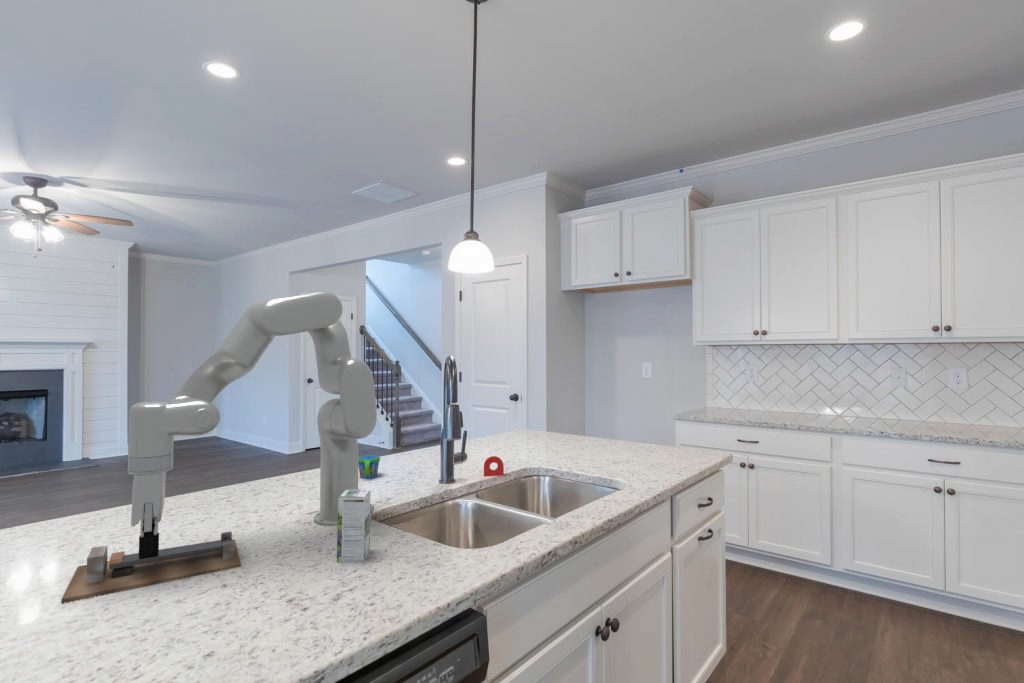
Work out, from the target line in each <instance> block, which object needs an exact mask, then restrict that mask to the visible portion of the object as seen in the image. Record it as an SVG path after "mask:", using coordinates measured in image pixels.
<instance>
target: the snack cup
mask: <svg viewBox="0 0 1024 683" xmlns="http://www.w3.org/2000/svg"><path fill="white" fill-rule="evenodd" d="M380 461H381V457H380V456H379V455H373V454H372V455H362V456H359V459H358V474H359V478H360V479H361V478H362V480H371V479H375V478H377V477H378V471H379V466H380V465H379V464H380Z"/></svg>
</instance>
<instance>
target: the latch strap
mask: <svg viewBox="0 0 1024 683" xmlns="http://www.w3.org/2000/svg"><path fill="white" fill-rule="evenodd" d="M232 541H233V537H232V538H231V539H230V537H225V538H224V539H223V540H221V539H218V540H213V541H206V542H200V543H195V544H186V545H182V546H175V547H168V548H167V547H166V548H162V549H161V548H160V549H159V551H158V554H157V555H153V556H147V557H139V552H137V553H130V554H125V551H124V550H123V551H116V552H112V553H111V555H110V558H109V559H108V561H109V570H110V569H116V568H122V567H128V566H134V565H140V564H146V563H152V562H158V561H164V560H170V559H176V558H182V557H188V556H194V555H200V554H206V553H212V552H218V551H223V543H226V542H232Z"/></svg>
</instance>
